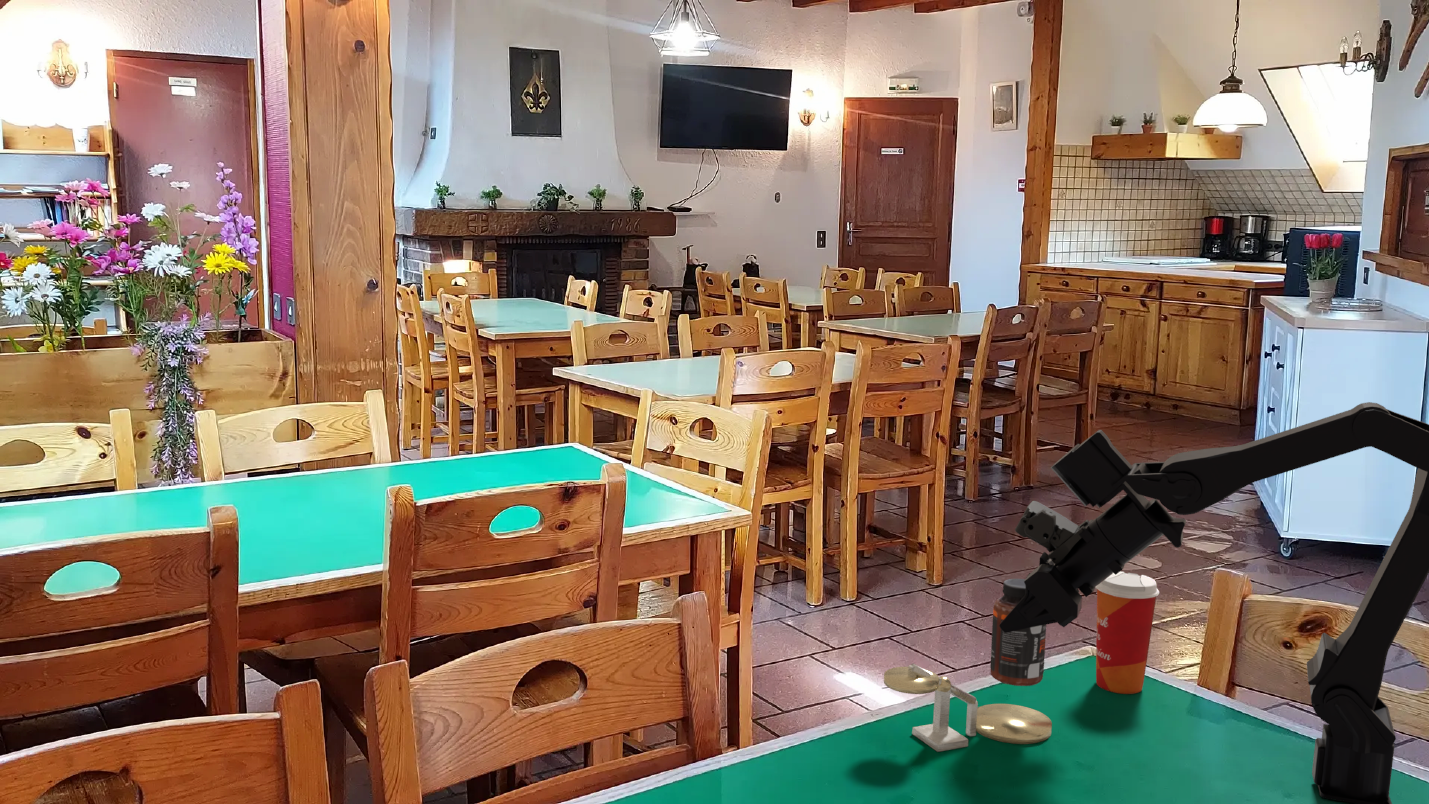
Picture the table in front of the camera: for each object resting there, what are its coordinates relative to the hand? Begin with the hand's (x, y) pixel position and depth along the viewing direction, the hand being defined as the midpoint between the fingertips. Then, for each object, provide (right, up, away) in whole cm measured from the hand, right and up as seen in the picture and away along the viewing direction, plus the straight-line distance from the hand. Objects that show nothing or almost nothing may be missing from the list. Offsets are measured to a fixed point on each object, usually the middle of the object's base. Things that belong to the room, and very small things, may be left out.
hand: (1007, 621), depth 139 cm
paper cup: (+18, -11, +15) cm, 26 cm away
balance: (-5, -13, -1) cm, 14 cm away
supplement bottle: (+1, -7, 0) cm, 7 cm away
